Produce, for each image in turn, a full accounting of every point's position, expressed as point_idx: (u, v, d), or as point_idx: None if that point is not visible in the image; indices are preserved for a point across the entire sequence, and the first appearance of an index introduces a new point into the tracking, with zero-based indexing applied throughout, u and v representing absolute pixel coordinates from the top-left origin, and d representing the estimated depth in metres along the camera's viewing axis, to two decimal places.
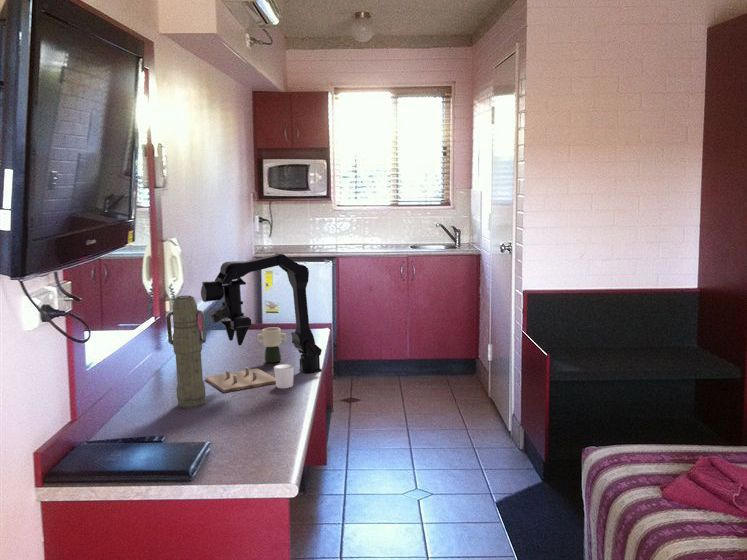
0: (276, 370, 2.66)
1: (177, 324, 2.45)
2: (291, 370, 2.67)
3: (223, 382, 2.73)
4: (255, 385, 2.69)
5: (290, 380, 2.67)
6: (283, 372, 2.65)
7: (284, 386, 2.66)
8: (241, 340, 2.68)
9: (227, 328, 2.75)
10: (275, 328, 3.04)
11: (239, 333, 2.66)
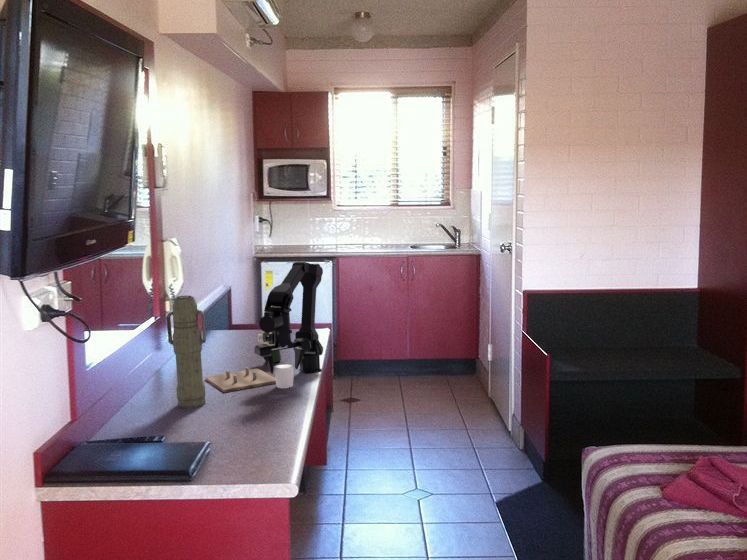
0: (276, 370, 2.66)
1: (177, 324, 2.45)
2: (291, 370, 2.67)
3: (223, 382, 2.73)
4: (255, 385, 2.69)
5: (290, 380, 2.67)
6: (283, 372, 2.65)
7: (284, 386, 2.66)
8: (270, 369, 2.65)
9: (295, 356, 2.71)
10: None
11: (267, 360, 2.65)
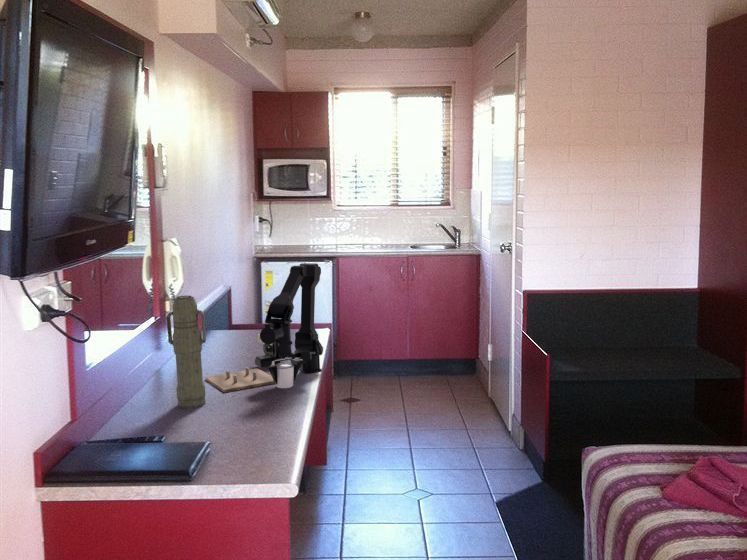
0: None
1: (177, 324, 2.45)
2: (291, 370, 2.67)
3: (223, 382, 2.73)
4: (255, 385, 2.69)
5: (290, 380, 2.67)
6: (283, 372, 2.65)
7: (284, 386, 2.66)
8: (274, 379, 2.67)
9: None
10: None
11: (271, 371, 2.67)
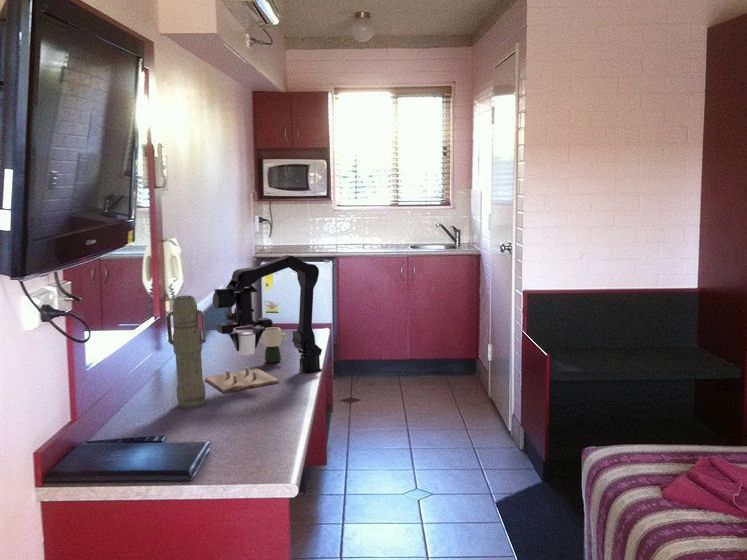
0: None
1: (177, 324, 2.45)
2: (253, 337, 2.72)
3: (223, 382, 2.73)
4: (255, 385, 2.69)
5: (252, 347, 2.72)
6: (245, 339, 2.70)
7: (245, 353, 2.71)
8: (235, 346, 2.71)
9: None
10: (275, 328, 3.04)
11: (233, 338, 2.71)
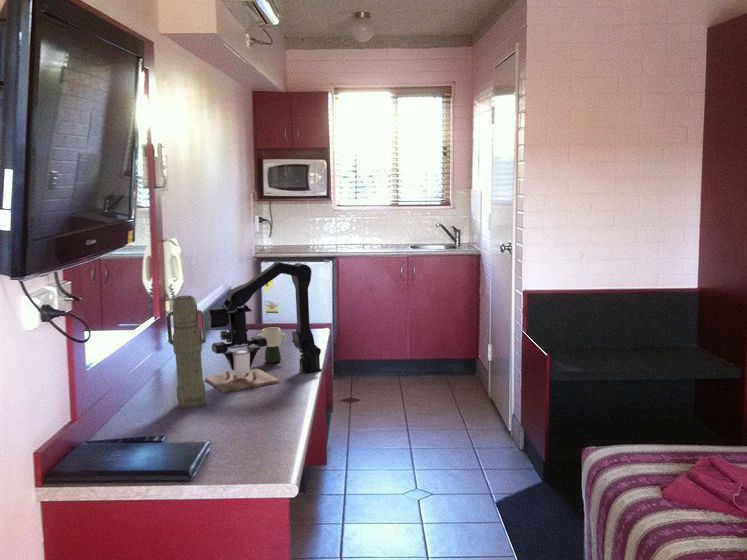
0: None
1: (177, 324, 2.45)
2: (247, 356, 2.74)
3: (223, 382, 2.73)
4: (255, 385, 2.69)
5: (246, 366, 2.74)
6: (239, 358, 2.73)
7: (240, 372, 2.74)
8: (230, 365, 2.74)
9: None
10: (275, 328, 3.04)
11: (228, 357, 2.74)
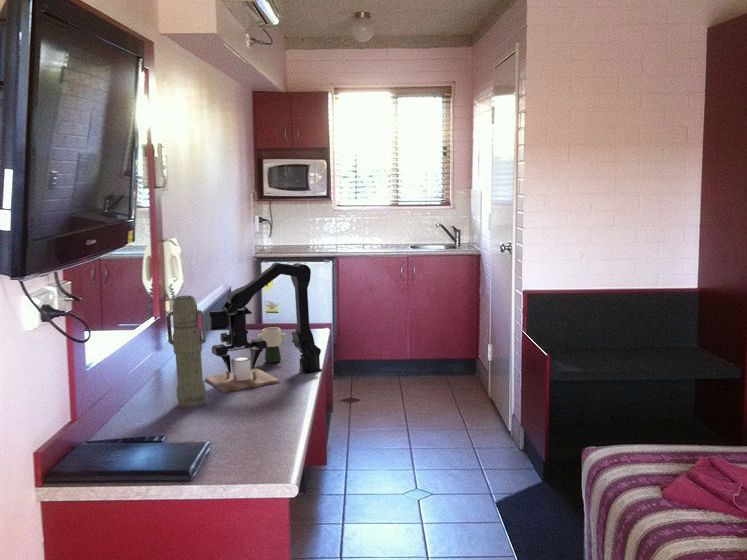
0: (233, 363, 2.74)
1: (177, 324, 2.45)
2: (247, 363, 2.74)
3: (223, 382, 2.73)
4: (255, 385, 2.69)
5: (247, 373, 2.75)
6: (239, 365, 2.73)
7: (240, 379, 2.74)
8: (227, 368, 2.74)
9: (251, 356, 2.79)
10: (275, 328, 3.04)
11: (225, 360, 2.74)
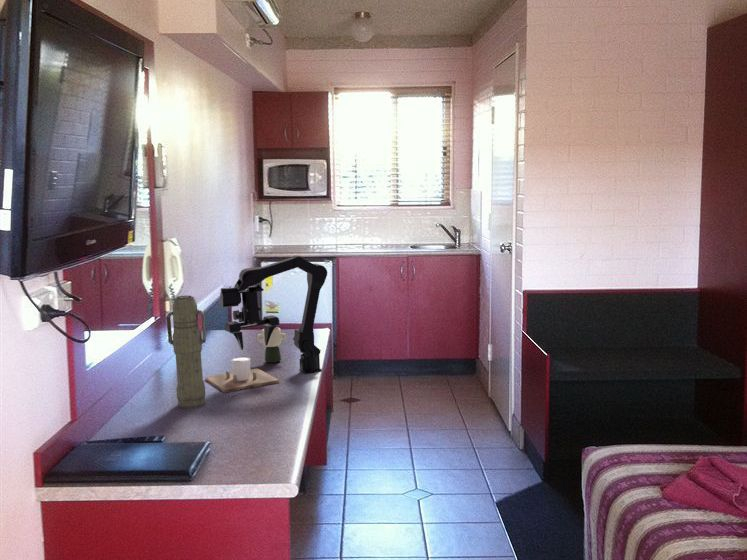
0: (233, 363, 2.74)
1: (177, 324, 2.45)
2: (247, 363, 2.74)
3: (223, 382, 2.73)
4: (255, 385, 2.69)
5: (247, 373, 2.75)
6: (239, 365, 2.73)
7: (240, 379, 2.74)
8: (240, 345, 2.76)
9: (264, 332, 2.82)
10: (275, 328, 3.04)
11: (237, 337, 2.76)
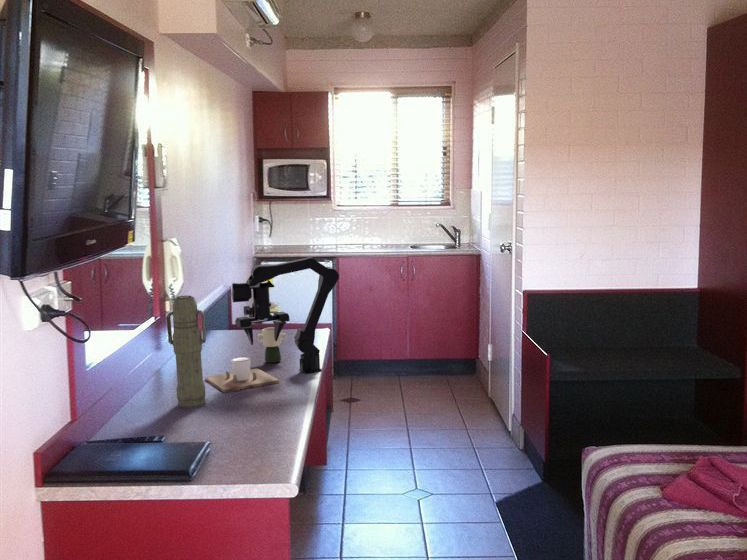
0: (233, 363, 2.74)
1: (177, 324, 2.45)
2: (247, 363, 2.74)
3: (223, 382, 2.73)
4: (255, 385, 2.69)
5: (247, 373, 2.75)
6: (239, 365, 2.73)
7: (240, 379, 2.74)
8: (250, 340, 2.79)
9: (274, 328, 2.85)
10: None
11: (247, 332, 2.79)
